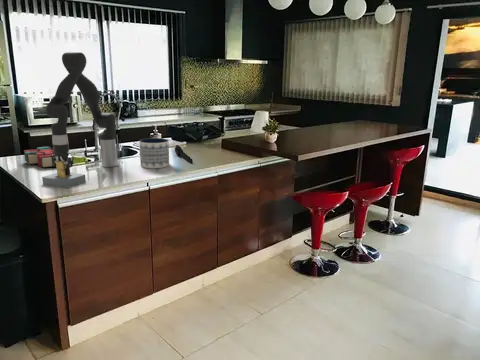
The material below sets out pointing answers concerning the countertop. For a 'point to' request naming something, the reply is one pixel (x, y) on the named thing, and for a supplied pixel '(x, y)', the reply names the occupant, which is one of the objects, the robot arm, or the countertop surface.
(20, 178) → the countertop surface
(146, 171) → the countertop surface
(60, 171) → the peg
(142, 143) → the planter
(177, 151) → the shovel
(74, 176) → the hole block
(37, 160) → the toy
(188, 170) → the countertop surface
